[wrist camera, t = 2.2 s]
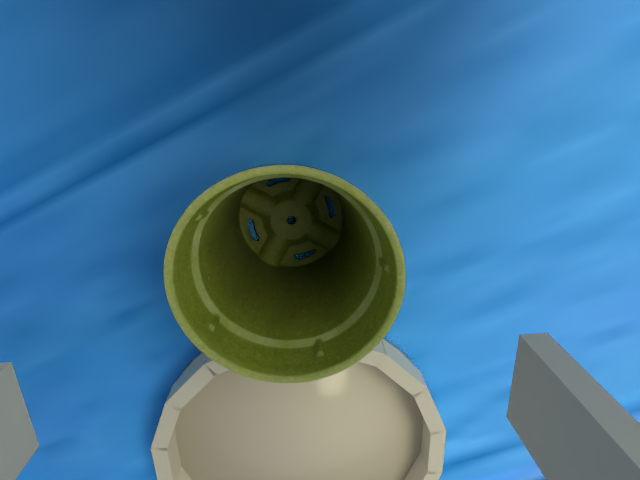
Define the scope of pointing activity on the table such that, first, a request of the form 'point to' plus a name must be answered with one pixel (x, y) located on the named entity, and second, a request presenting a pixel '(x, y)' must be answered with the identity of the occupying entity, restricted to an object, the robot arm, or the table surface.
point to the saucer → (302, 424)
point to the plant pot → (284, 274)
